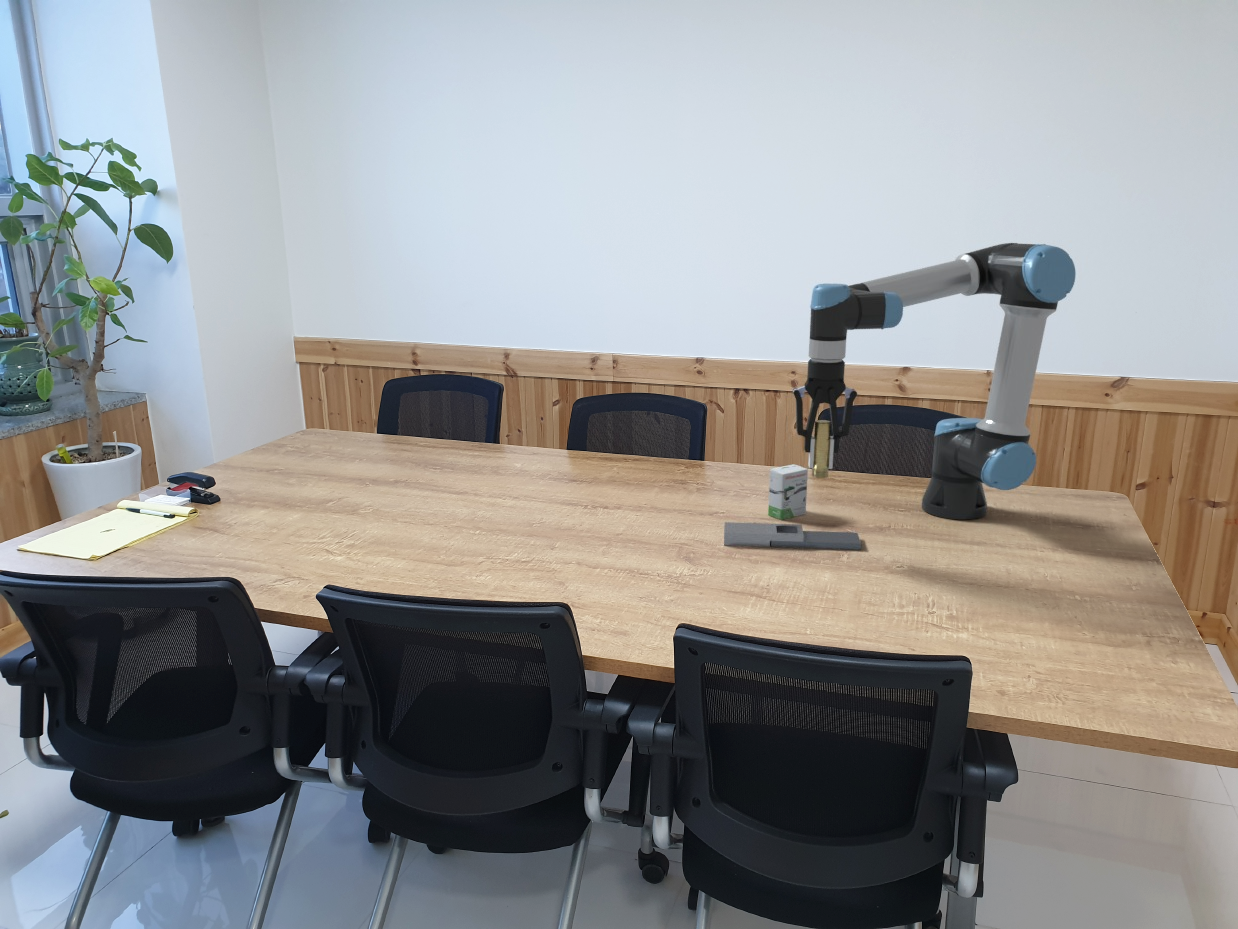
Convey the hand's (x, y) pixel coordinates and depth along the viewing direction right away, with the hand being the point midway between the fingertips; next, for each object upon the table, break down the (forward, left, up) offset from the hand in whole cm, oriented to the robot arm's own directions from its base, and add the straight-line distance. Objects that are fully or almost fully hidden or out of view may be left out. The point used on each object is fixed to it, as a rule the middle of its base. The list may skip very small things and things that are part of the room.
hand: (820, 466), depth 196 cm
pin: (0, 0, -2) cm, 2 cm away
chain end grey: (+12, -4, -19) cm, 22 cm away
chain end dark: (0, -4, -19) cm, 19 cm away
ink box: (+5, -23, -19) cm, 30 cm away
